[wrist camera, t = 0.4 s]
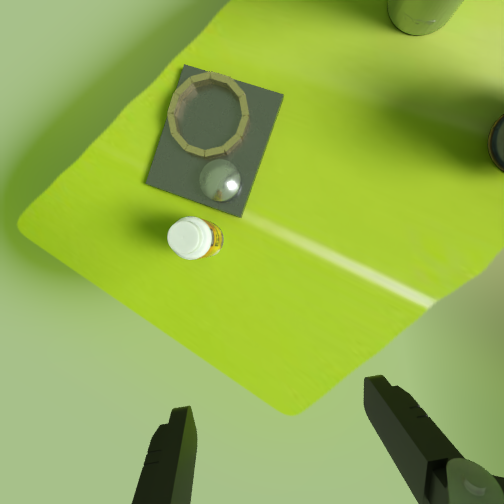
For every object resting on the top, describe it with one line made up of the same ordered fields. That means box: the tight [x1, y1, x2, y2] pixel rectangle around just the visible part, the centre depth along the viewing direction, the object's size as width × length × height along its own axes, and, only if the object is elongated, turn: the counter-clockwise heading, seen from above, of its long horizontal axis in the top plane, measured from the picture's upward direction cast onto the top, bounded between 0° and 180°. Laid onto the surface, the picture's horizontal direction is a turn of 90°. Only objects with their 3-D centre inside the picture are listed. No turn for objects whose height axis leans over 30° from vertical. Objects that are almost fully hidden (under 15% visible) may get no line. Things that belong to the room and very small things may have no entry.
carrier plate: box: [146, 64, 284, 218], centre depth 37 cm, size 19×16×2 cm
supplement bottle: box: [167, 216, 223, 260], centre depth 34 cm, size 6×6×10 cm
